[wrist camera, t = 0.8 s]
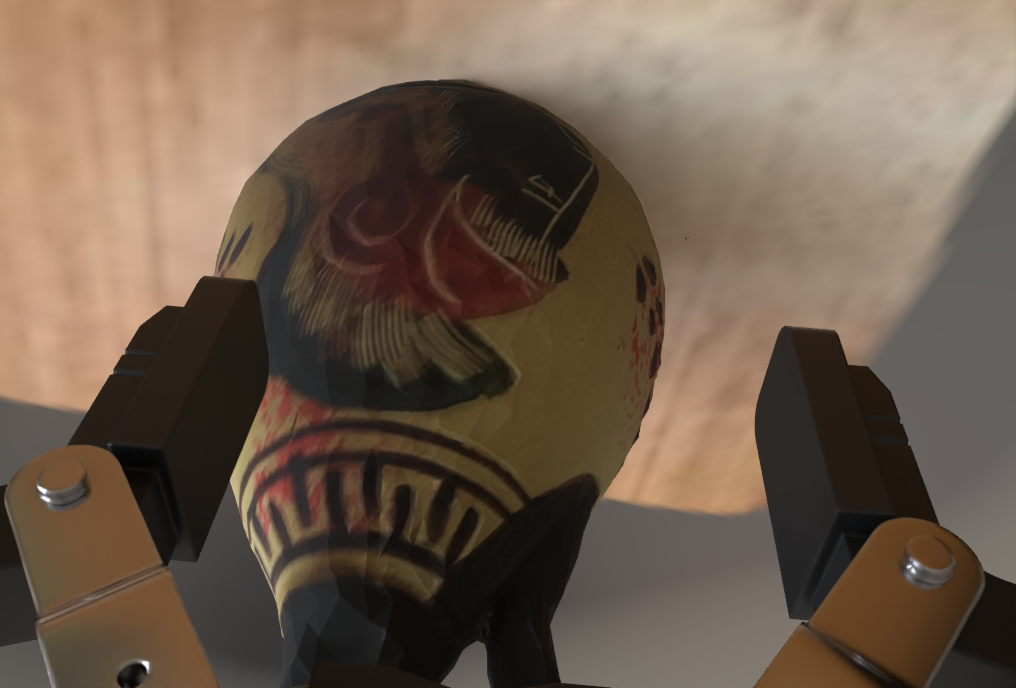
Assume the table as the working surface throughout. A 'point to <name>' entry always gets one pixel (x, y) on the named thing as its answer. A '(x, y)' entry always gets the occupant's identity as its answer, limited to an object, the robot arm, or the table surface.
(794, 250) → the table surface
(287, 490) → the ceramic jug
